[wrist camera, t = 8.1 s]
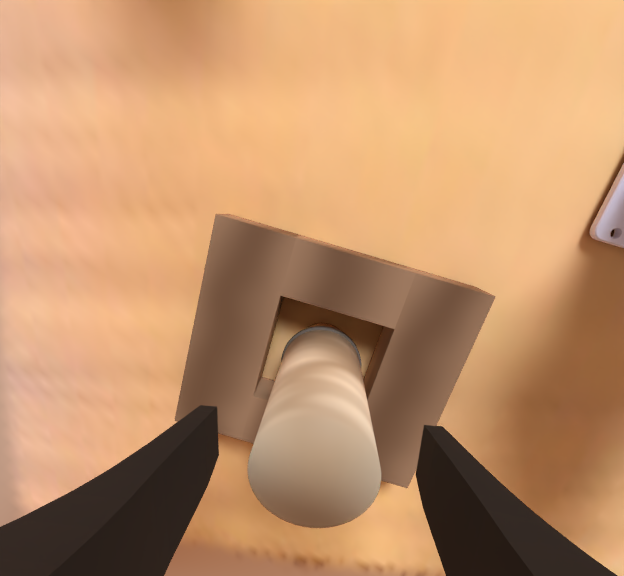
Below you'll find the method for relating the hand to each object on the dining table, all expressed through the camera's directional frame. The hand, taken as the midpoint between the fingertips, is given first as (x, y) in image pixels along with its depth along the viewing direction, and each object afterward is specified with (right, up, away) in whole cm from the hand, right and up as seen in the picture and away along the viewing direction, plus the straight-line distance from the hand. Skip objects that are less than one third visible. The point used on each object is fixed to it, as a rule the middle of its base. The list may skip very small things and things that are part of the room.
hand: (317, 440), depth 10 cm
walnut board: (0, +2, +7) cm, 8 cm away
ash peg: (0, +2, +7) cm, 8 cm away
